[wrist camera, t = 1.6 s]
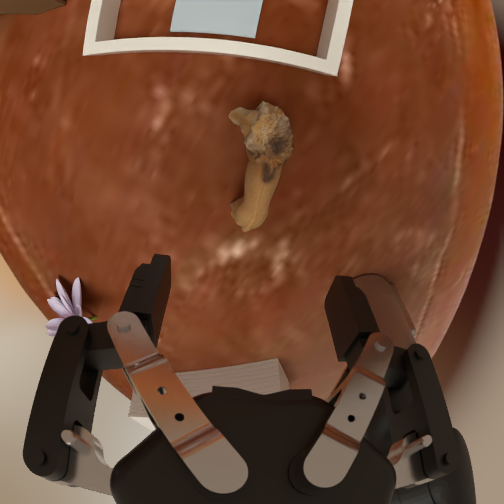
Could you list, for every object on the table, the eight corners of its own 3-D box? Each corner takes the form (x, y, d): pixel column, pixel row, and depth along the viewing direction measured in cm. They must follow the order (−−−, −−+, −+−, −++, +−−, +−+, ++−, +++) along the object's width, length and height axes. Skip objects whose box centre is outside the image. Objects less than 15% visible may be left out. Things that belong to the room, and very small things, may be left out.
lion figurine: (232, 93, 24) (227, 104, 17) (288, 97, 24) (307, 109, 17) (229, 223, 33) (225, 275, 25) (275, 224, 33) (284, 276, 26)
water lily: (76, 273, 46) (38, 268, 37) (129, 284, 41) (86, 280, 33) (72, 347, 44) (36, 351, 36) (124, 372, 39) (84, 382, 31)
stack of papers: (161, 394, 62) (155, 432, 53) (136, 374, 55) (128, 416, 47) (288, 380, 57) (293, 424, 48) (277, 356, 50) (282, 408, 42)
